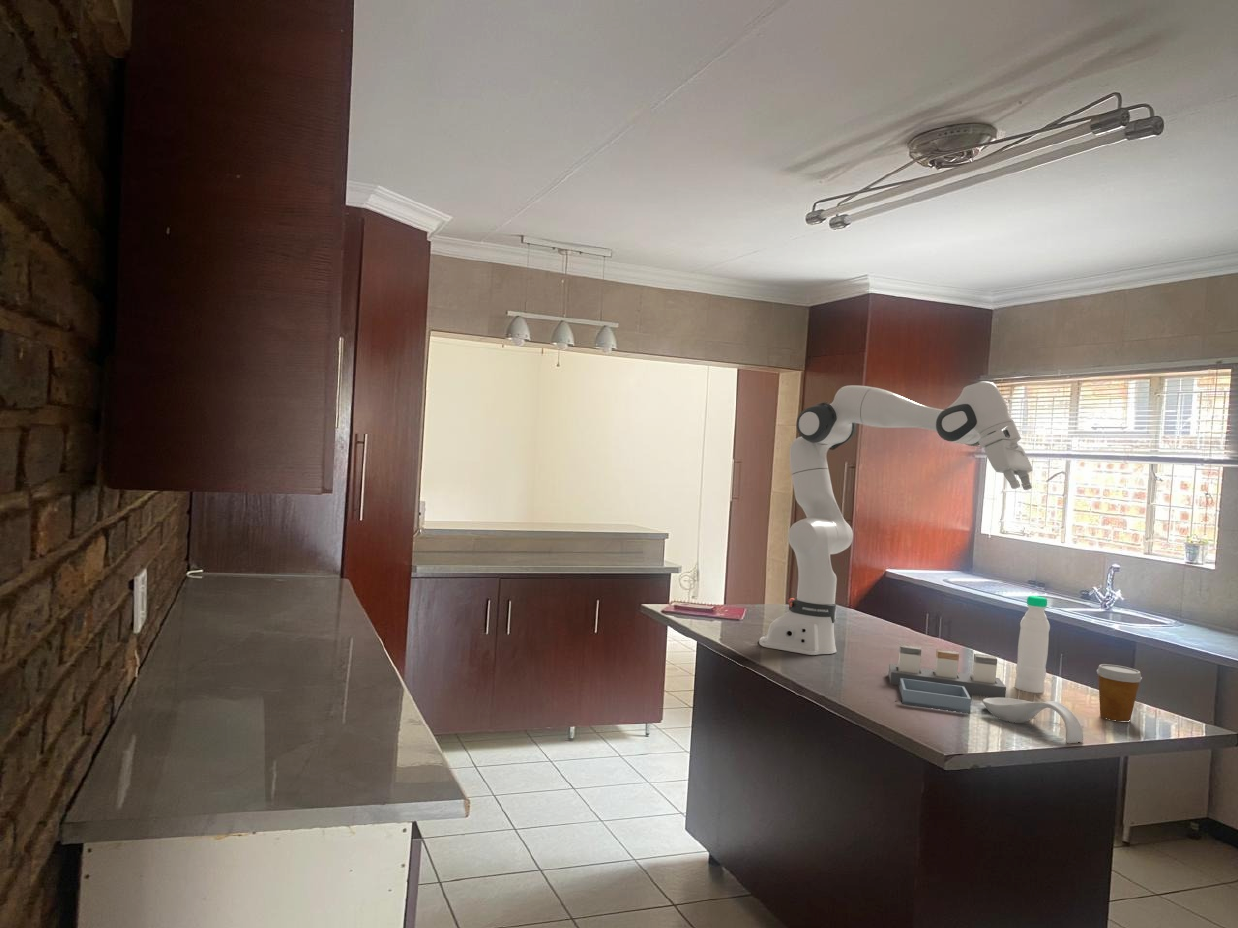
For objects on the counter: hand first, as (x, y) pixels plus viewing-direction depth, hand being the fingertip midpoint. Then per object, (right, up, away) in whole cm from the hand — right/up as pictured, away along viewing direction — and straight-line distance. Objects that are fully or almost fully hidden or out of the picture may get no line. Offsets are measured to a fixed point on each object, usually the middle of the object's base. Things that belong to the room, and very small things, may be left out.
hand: (1022, 488), depth 227 cm
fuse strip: (-19, -51, +1) cm, 55 cm away
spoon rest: (-10, -53, -25) cm, 60 cm away
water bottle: (+4, -53, +6) cm, 54 cm away
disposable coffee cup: (+16, -55, -13) cm, 58 cm away
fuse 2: (-11, -51, -1) cm, 52 cm away
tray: (-27, -51, -12) cm, 59 cm away
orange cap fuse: (-19, -50, +1) cm, 54 cm away
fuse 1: (-28, -49, +3) cm, 57 cm away
